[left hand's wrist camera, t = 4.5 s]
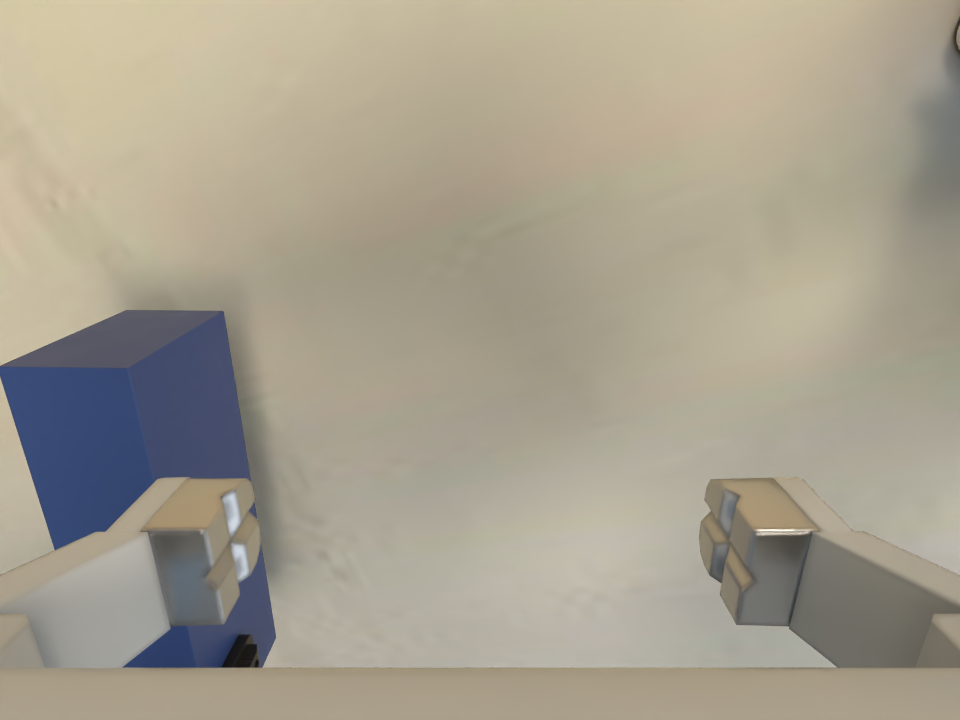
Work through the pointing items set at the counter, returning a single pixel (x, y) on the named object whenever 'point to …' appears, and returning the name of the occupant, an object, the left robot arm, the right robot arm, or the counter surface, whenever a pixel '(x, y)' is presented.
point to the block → (137, 443)
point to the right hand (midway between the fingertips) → (198, 644)
